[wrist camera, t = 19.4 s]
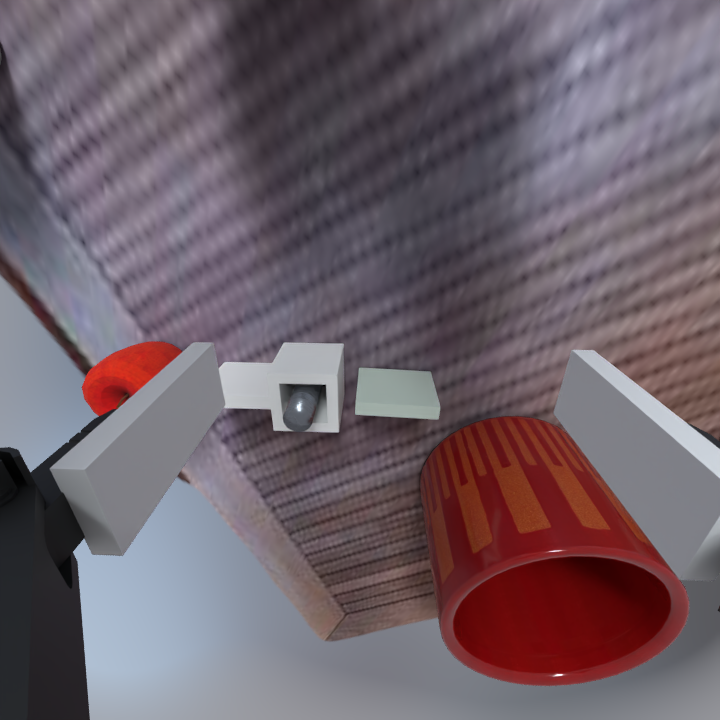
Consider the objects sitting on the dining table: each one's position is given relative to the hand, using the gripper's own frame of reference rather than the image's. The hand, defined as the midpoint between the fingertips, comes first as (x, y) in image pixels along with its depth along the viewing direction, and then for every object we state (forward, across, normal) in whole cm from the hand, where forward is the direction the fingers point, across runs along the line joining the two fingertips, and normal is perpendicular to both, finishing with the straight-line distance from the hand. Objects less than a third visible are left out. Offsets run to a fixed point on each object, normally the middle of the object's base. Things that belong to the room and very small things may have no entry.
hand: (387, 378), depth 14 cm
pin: (+29, -8, -15) cm, 33 cm away
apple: (+29, -27, -14) cm, 42 cm away
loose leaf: (+28, +2, -16) cm, 32 cm away
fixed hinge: (+29, -12, -15) cm, 35 cm away
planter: (+29, +18, -32) cm, 47 cm away
